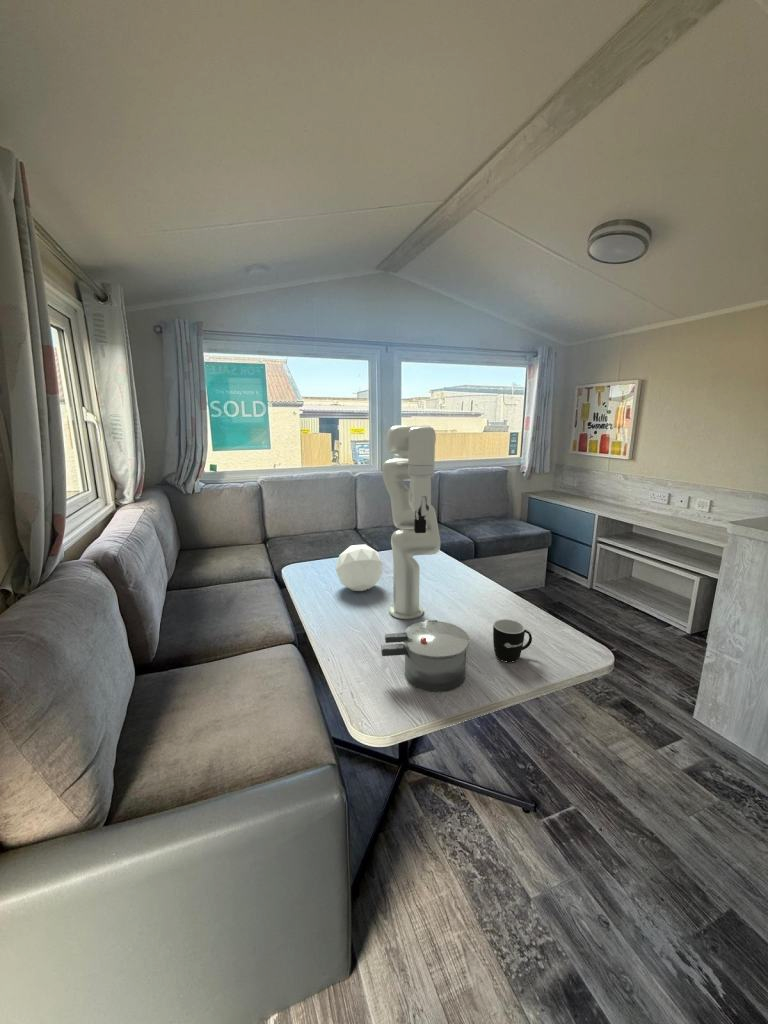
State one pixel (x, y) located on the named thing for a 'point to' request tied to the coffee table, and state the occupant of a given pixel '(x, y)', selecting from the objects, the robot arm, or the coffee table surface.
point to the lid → (432, 639)
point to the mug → (509, 639)
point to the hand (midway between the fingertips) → (420, 532)
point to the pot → (430, 669)
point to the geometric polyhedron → (359, 567)
